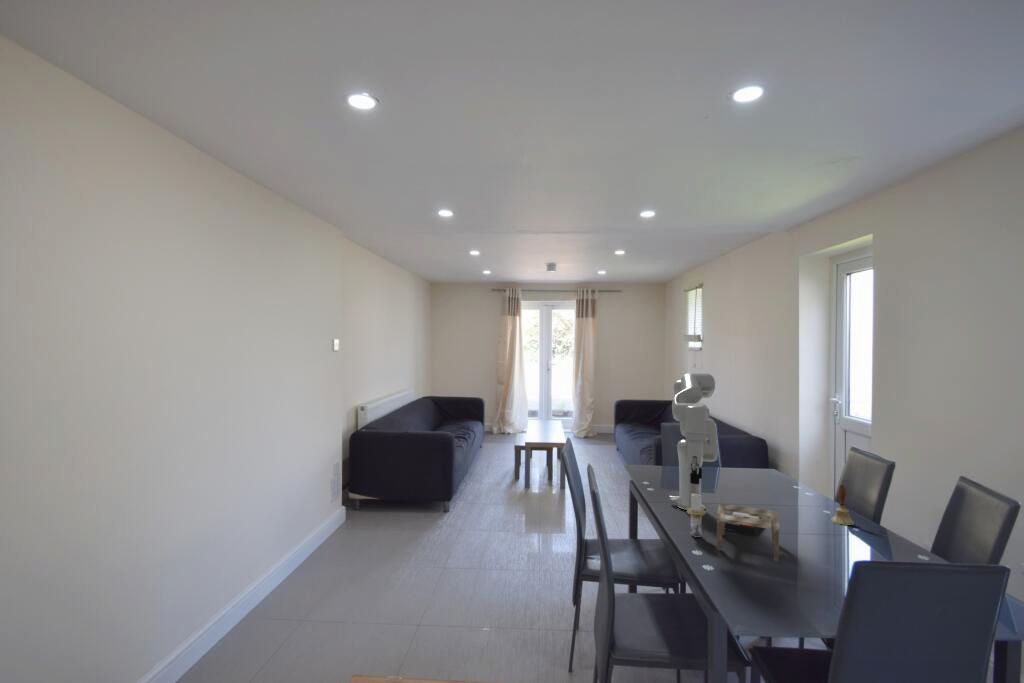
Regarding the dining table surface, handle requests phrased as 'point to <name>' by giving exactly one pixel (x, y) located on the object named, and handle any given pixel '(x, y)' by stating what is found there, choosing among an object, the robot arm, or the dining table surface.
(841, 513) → the hand bell
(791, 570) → the dining table surface
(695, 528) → the peg
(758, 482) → the dining table surface
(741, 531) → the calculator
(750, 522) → the shelf
